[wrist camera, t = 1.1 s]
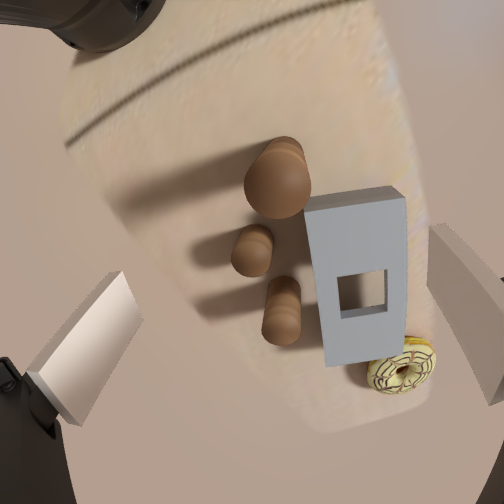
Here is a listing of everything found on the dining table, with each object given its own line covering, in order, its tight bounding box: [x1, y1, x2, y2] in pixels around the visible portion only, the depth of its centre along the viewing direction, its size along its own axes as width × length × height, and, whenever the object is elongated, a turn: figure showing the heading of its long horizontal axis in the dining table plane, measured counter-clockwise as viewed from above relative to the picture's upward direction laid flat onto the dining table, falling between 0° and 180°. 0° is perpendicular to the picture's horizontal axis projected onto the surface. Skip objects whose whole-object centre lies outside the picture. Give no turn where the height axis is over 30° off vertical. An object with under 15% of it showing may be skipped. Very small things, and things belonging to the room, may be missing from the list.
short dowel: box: [231, 224, 274, 277], centre depth 34 cm, size 4×4×5 cm
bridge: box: [303, 186, 408, 367], centre depth 34 cm, size 20×10×5 cm, turn 12°
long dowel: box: [244, 136, 311, 219], centre depth 25 cm, size 4×4×15 cm
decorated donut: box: [367, 336, 436, 395], centre depth 40 cm, size 10×11×4 cm
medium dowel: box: [261, 276, 301, 346], centre depth 35 cm, size 4×4×8 cm
